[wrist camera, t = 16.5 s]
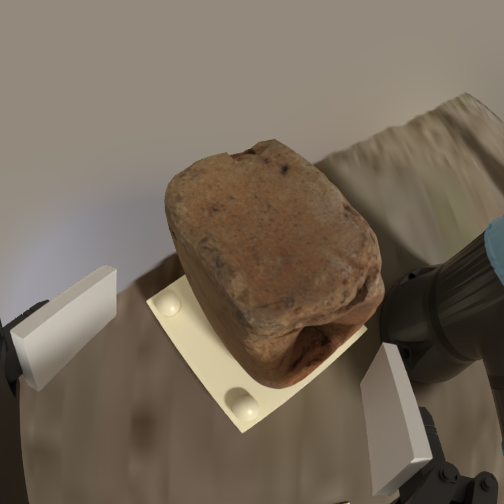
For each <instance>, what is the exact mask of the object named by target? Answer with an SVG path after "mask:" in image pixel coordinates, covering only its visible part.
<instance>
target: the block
mask: <svg viewBox="0 0 504 504" xmlns="http://www.w3.org/2000/svg"><path fill="white" fill-rule="evenodd" d="M165 212H166V217H167V221H168V225H169V230H170V232H171V236H172V239H173V242H174V245H175V248H176V251H177V253H178V257H179V260H180V263H181V265H182V267H183V270H184V273H185V275H186V278H187V280H188V282H189V285H190V286H191V289H192V291H193V293H194V295H195V297H196V299H197V301H198V303H199V305H200V307H201V309H202V311H203V312H204V314H205V316H206V318H207V320H208V321H209V323H210V325H211V326H212V328H213V329H214V331H215V332H216V334H217V335H218V337H219V338H220V340H221V341H222V343H223V344H224V345H225V347H226V348H227V350H228V351H229V352H230V354H231V355H232V356H233V357H234V359H235V360H236V361H237V362H238V363H239V365H240V366H241V367H242V368H243V369H244V370H245V372H246V373H247V374H248V375H249V376H250V377H251V378H253V379H254V380H255V381H256V382H258V383H259V384H261V385H263V386H266V387H268V388H273V389H283V388H287V387H290V386H293V385H295V384H296V383H298V382H300V381H302V380H303V379H305V378H306V377H307V376H308V375H309V374H311V373H312V372H313V371H314V370H315V369H316V368H318V367H319V366H320V365H321V364H322V363H323V362H324V361H326V360H327V359H328V358H329V357H330V356H331V355H332V354H333V353H334V352H335V351H336V350H337V349H338V348H339V347H340V346H342V345H343V344H344V343H345V342H346V341H347V340H348V339H350V338H351V337H352V336H353V335H354V334H355V333H356V332H357V331H358V330H359V329H360V328H361V327H362V326H363V325H364V324H365V322H366V321H367V320H368V319H369V318H370V317H371V316H372V315H373V314H374V313H375V312H376V309H377V307H378V306H379V305H380V303H381V302H382V301H383V297H384V293H385V289H384V283H383V280H382V278H381V275H380V272H381V264H382V259H381V254H380V250H379V245H378V241H377V237H376V235H375V233H374V232H373V230H372V229H371V227H370V226H369V225H368V223H367V222H366V220H365V219H364V218H363V217H362V216H361V215H360V214H359V213H358V212H357V211H356V210H355V209H354V208H353V207H352V206H351V205H350V204H349V202H348V201H347V200H346V199H345V197H344V196H343V195H342V194H341V192H340V190H339V189H338V188H337V187H336V186H335V185H334V184H332V183H331V182H330V181H329V180H328V178H327V177H326V176H325V175H324V174H323V173H322V172H321V171H319V170H318V169H317V168H316V167H314V166H313V165H312V164H311V163H310V162H308V161H307V160H306V159H304V158H303V157H302V156H300V155H299V154H298V153H296V152H295V151H293V150H292V149H290V148H289V147H287V146H285V145H283V144H282V143H280V142H279V141H277V140H275V139H273V140H268V141H262V142H258V143H257V144H256V145H255V146H253V148H251V149H248V150H245V151H244V152H242V153H237V154H233V155H228V154H227V152H225V153H221V154H218V155H213V156H210V157H207V158H204V159H201V160H199V161H196V162H195V163H194V164H192V165H191V166H189V167H188V168H187V169H185V170H184V171H182V172H180V173H179V174H177V175H175V176H174V177H173V179H172V180H171V182H170V183H169V184H168V187H167V190H166V193H165Z"/></svg>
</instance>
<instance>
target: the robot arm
mask: <svg viewBox="0 0 504 504" xmlns="http://www.w3.org/2000/svg"><path fill="white" fill-rule="evenodd" d="M116 272H117V269H115V268H113V267H110V266H107V265H103V266H101V267H100V268H98V269H97V270H95V271H94V272H92V273H91V274H89V275H88V276H86V277H85V278H83V279H82V280H80V281H79V282H77V283H76V284H74V285H73V286H71V287H70V288H68V289H67V290H65V291H64V292H63V293H61V294H60V295H58V296H57V297H55V298H54V299H52V300H51V301H49V300H45V301H42V302H39V303H37V304H35V305H34V306H32V307H31V308H30V309H29V310H27V311H25V312H24V313H23V315H22V314H21V315H20V316H18V317H17V318H15V319H14V320H13V321H11V322H10V323H8V324H7V325H6V326H4V327H3V328H2V324H1V320H0V504H29V501H28V495H27V490H26V483H25V477H24V469H23V461H22V450H21V437H20V411H19V395H20V382H19V378H18V377H19V376H21V375H22V374H23V375H24V378H25V381H26V384H28V385H29V386H31V387H32V388H34V389H35V390H37V391H38V392H40V391H41V389H42V388H43V387H44V386H45V385H46V384H47V383H48V382H49V381H50V380H51V379H52V378H53V377H54V376H55V375H56V374H57V373H58V372H59V371H60V370H61V369H62V368H63V367H64V366H65V365H66V364H67V363H68V362H69V361H70V360H71V359H72V358H73V357H74V356H75V355H76V354H77V353H78V352H79V351H80V350H81V349H82V348H83V347H84V346H85V345H86V344H87V343H88V342H89V341H90V340H91V339H92V338H93V337H94V336H95V335H96V334H97V333H98V332H99V331H100V330H101V329H102V328H103V327H104V326H105V325H106V324H108V323H109V322H110V321H111V320H112V319H113V318H114V317H115V316H116ZM380 332H381V338H382V345H381V346H380V348H379V350H378V352H377V354H376V356H375V358H374V360H373V362H372V364H371V365H370V367H369V369H368V371H367V373H366V374H365V376H364V378H363V380H362V381H361V383H360V388H361V395H362V401H363V408H364V415H365V423H366V430H367V439H368V447H369V457H370V467H371V478H372V490H373V496H391V495H392V494H393V493H394V492H395V491H397V490H398V489H399V493H400V496H399V497H398V498H397V499H395V500H394V501H393V502H391V503H390V504H497V496H498V482H497V480H496V478H495V477H494V475H493V474H491V473H489V472H485V471H484V472H481V473H479V474H478V475H477V476H476V477H475V478H469V477H465V476H461V475H460V473H459V471H458V469H457V468H456V467H455V466H454V465H453V464H451V463H449V462H446V461H445V458H444V454H443V451H442V447H441V444H440V441H439V437H438V435H437V431H436V428H435V427H434V426H435V425H434V422H433V419H432V416H431V415H430V413H429V412H428V411H427V409H426V408H425V407H418V405H417V402H416V399H415V396H414V393H413V390H412V387H411V384H410V381H409V379H410V380H412V381H414V382H418V383H424V384H430V383H438V382H443V381H447V380H449V379H451V378H453V377H455V376H456V375H458V374H459V373H460V372H462V371H463V370H465V369H466V368H467V367H468V366H470V365H471V364H472V363H473V362H475V361H477V360H481V359H483V362H484V366H485V369H486V372H487V375H488V379H489V382H490V387H491V390H492V394H493V398H494V402H495V406H496V410H497V415H498V419H499V424H500V429H501V434H502V452H503V456H504V215H503V216H502V217H500V218H497V219H495V220H493V221H492V222H491V223H490V224H489V226H488V228H487V229H486V230H485V231H484V232H483V233H482V234H481V235H479V236H478V237H477V238H476V239H475V240H473V241H472V242H471V243H470V244H469V245H467V246H466V247H465V248H464V249H462V250H461V251H460V252H458V253H457V254H456V255H455V256H453V257H452V258H451V259H449V260H448V261H447V262H445V263H444V264H437V265H431V266H425V267H420V268H417V269H415V270H412V271H411V272H409V273H407V274H406V275H405V276H403V277H402V278H401V279H400V280H398V281H397V282H396V283H395V284H394V285H393V286H392V288H391V289H390V291H389V292H388V294H387V296H386V298H385V300H384V303H383V306H382V310H381V317H380Z"/></svg>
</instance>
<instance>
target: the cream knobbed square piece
mask: <svg viewBox="0 0 504 504" xmlns="http://www.w3.org/2000/svg"><path fill="white" fill-rule="evenodd" d="M146 302H147V304H148V305H149V307H150V308H151V310H152V311H153V313H154V315H155V316H156V318H157V319H158V321H159V322H160V324H161V325H162V327H163V328H164V330H165V331H166V333H167V334H168V336H169V337H170V339H171V340H172V342H173V343H174V345H175V346H176V348H177V349H178V350H179V352H180V353H181V355H182V356H183V358H184V359H185V360H186V362H187V363H188V364H189V366H190V367H191V369H192V370H193V371H194V373H195V374H196V375H197V377H198V378H199V379H200V381H201V382H202V383H203V385H204V386H205V387H206V389H207V390H208V391H209V393H210V394H211V395H212V397H213V398H214V399H215V400H216V402H217V403H218V404H219V405H220V407H221V408H222V409H223V410H224V412H225V413H226V414H227V415H228V417H229V418H230V419H231V420H232V421H233V423H234V424H235V425H236V426H237V427H238V429H239V430H240V431H241V432H242V433H243V432H245V431H246V430H248V429H249V428H251V427H252V426H253V425H255V424H256V423H258V422H259V421H260V420H262V419H263V418H264V417H266V416H267V415H268V414H270V413H271V412H272V411H274V410H275V409H276V408H278V407H279V406H280V405H282V404H283V403H284V402H285V401H287V400H288V399H289V398H290V397H292V396H293V395H294V394H296V393H297V392H298V391H299V390H300V389H302V388H303V387H304V386H305V385H307V384H308V383H309V382H310V381H311V380H313V379H314V378H315V377H316V376H317V375H318V374H320V373H321V372H322V371H323V370H324V369H325V368H326V367H328V366H329V365H330V364H331V363H332V362H333V361H334V360H335V359H337V358H338V357H339V356H340V355H341V354H342V353H343V352H344V351H345V350H346V349H348V348H349V347H350V346H351V345H352V344H353V343H354V342H355V341H356V340H357V339H358V338H359V337H360V336H361V335H362V334H363V333H364V332H365V331H366V330H367V328H366V327H365V325H363V326H362V327H361V328H360V329H359V330H358V331H357V332H356V333H355V334H354V335H353V336H352V337H351V338H350V339H348V340H347V341H346V342H345V343H344V344H343V345H342V346H340V347H339V348H338V349H337V350H336V351H335V352H334V353H333V354H332V355H331V356H330V357H329V358H328V359H327V360H326V361H324V362H323V363H322V364H321V365H320V366H319V367H318V368H316V369H315V370H314V371H313V372H312V373H311V374H309V375H308V376H307V377H306V378H305V379H303V380H302V381H300V382H298V383H296V384H295V385H293V386H290V387H287V388H283V389H273V388H268V387H266V386H263V385H261V384H259V383H258V382H256V381H255V380H254V379H253V378H251V377H250V376H249V375H248V374H247V373H246V372H245V370H244V369H243V368H242V367H241V366H240V365H239V363H238V362H237V361H236V360H235V359H234V357H233V356H232V355H231V354H230V352H229V351H228V350H227V348H226V347H225V345H224V344H223V343H222V341H221V340H220V338H219V337H218V335H217V334H216V332H215V331H214V329H213V328H212V326H211V325H210V323H209V321H208V320H207V318H206V316H205V314H204V312H203V311H202V309H201V307H200V305H199V303H198V301H197V299H196V297H195V295H194V293H193V291H192V289H191V286H190V285H189V282H188V280H187V278H186V275H184V276H182V277H181V278H179V279H178V280H176V281H175V282H173V283H172V284H170V285H169V286H168V287H166V288H165V289H163V290H162V291H160V292H159V293H157V294H156V295H154V296H153V297H152V298H150V299H149V300H147V301H146Z"/></svg>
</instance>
